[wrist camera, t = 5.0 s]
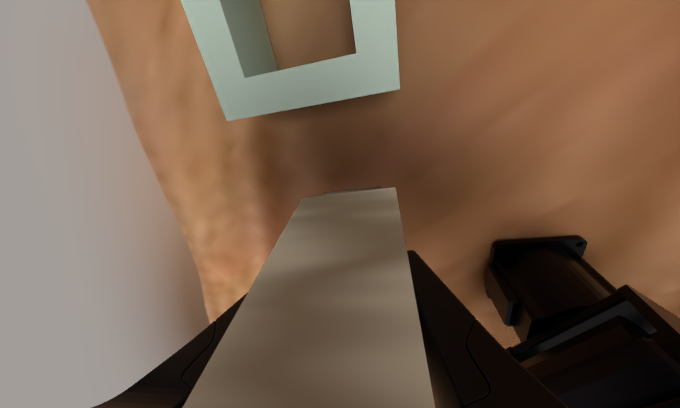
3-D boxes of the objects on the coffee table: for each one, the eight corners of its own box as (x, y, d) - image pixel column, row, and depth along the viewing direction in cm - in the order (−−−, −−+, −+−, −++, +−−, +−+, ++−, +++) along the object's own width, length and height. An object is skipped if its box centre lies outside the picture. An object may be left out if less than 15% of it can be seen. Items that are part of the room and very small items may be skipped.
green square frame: (378, -129, 11) (380, -252, 7) (393, 84, 16) (399, 89, 11) (209, -67, 13) (129, -135, 9) (264, 108, 17) (226, 121, 13)
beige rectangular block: (393, 173, 11) (461, 549, 2) (398, 242, 13) (448, 597, 4) (310, 183, 12) (133, 493, 3) (326, 247, 14) (243, 554, 5)
